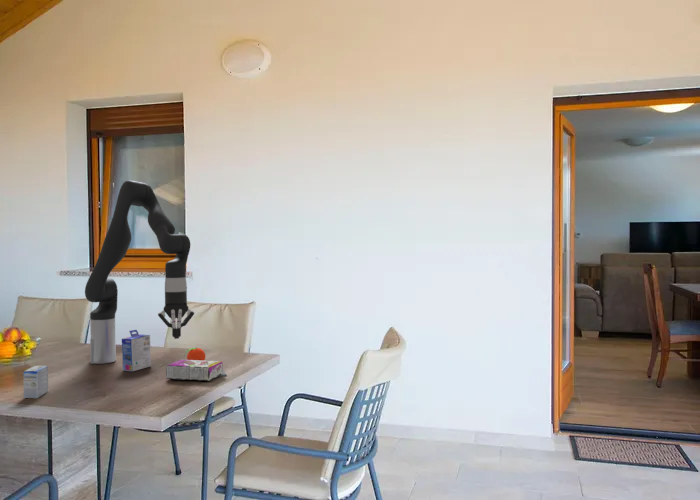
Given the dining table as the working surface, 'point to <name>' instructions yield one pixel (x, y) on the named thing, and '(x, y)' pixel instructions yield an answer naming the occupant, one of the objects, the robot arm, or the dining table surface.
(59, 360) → the dining table surface
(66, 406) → the dining table surface
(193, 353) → the clementine
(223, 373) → the mat
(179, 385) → the dining table surface
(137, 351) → the ink cartridge box
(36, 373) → the medicine box
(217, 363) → the candy bar box
